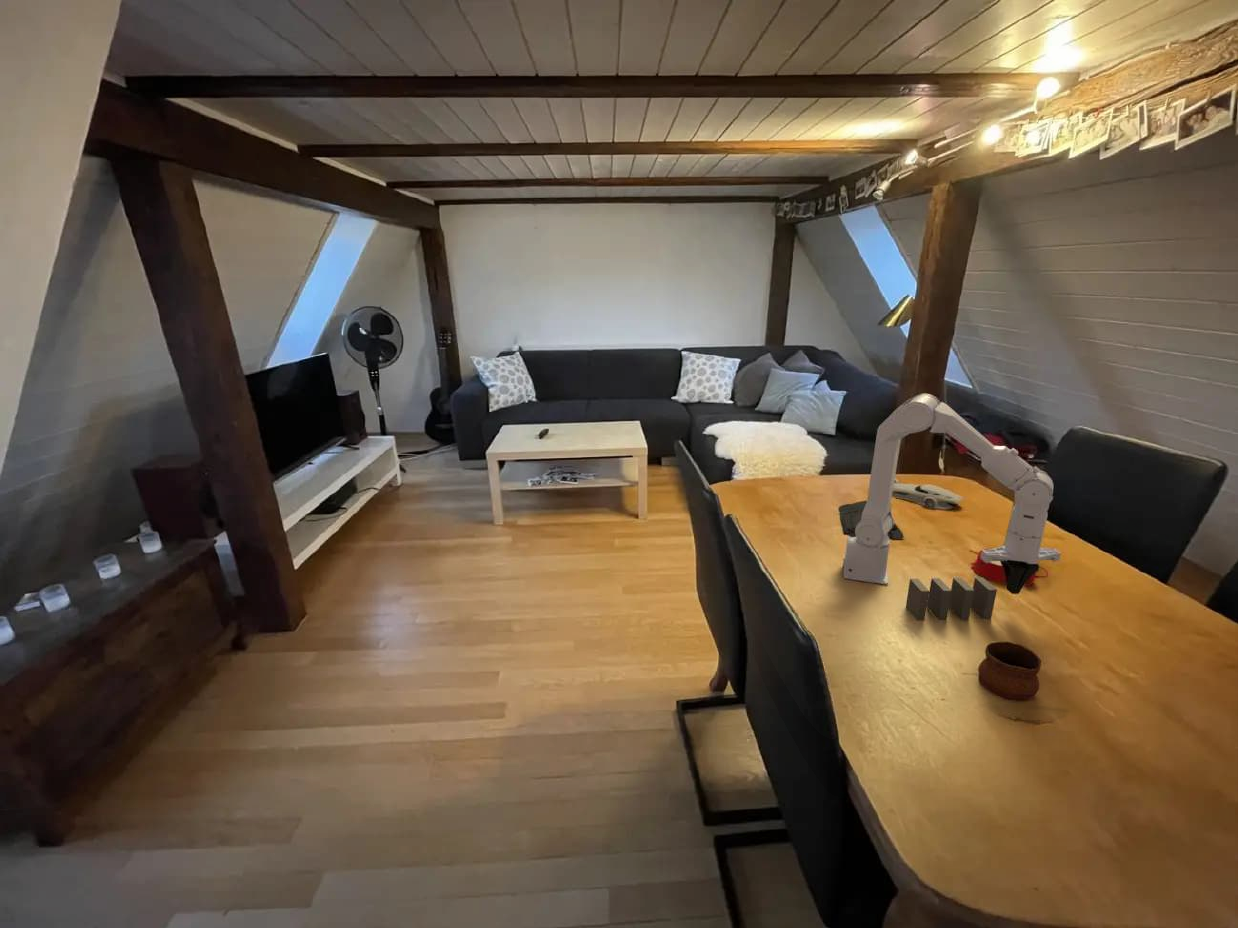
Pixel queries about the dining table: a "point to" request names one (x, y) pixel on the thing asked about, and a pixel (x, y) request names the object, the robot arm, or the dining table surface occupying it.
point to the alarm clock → (995, 570)
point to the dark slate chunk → (852, 517)
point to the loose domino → (917, 599)
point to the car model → (926, 495)
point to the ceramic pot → (1010, 673)
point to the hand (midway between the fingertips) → (1012, 591)
